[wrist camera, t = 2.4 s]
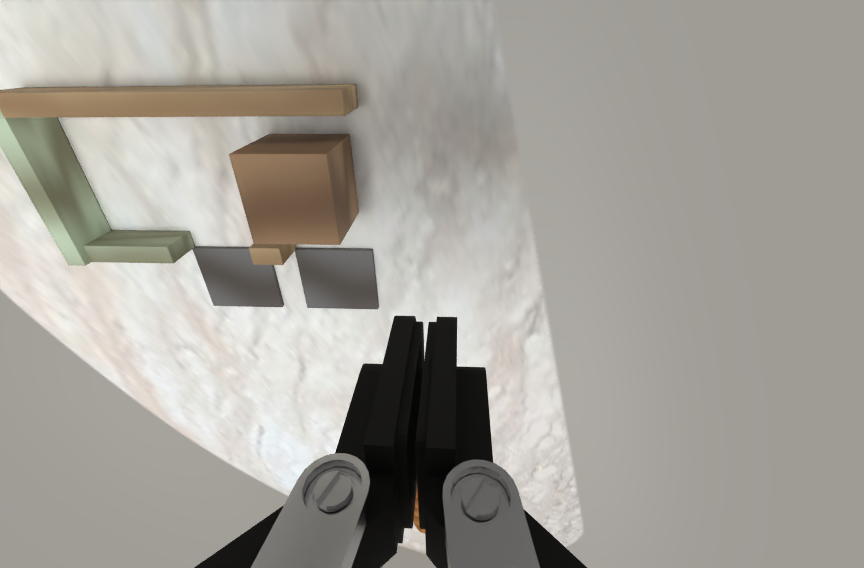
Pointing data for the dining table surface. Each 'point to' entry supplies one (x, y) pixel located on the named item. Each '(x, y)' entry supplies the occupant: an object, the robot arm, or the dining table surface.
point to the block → (297, 188)
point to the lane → (220, 266)
